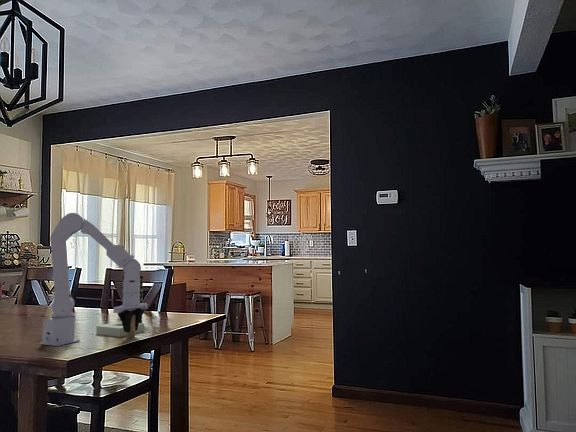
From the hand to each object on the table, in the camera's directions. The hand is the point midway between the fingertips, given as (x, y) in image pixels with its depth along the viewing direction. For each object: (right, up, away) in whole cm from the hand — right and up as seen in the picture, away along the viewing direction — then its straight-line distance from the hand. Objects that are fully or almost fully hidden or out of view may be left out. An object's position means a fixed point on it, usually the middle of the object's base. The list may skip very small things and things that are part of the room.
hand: (130, 331), depth 166 cm
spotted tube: (-10, -5, +31) cm, 33 cm away
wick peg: (0, -2, 0) cm, 2 cm away
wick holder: (-7, -3, +10) cm, 13 cm away
